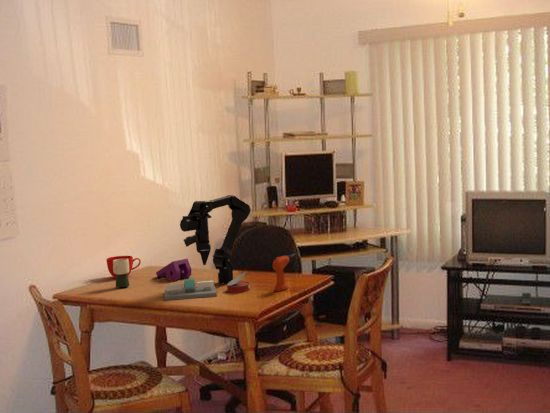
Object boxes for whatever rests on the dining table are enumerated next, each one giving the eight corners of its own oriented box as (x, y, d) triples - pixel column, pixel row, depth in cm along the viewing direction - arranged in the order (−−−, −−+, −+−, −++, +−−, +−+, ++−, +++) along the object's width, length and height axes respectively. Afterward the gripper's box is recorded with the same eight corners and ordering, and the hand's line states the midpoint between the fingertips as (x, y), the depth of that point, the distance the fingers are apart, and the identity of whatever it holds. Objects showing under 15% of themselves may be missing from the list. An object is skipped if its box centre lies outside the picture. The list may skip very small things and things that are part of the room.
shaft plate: (214, 288, 321) (214, 277, 321) (216, 296, 305) (216, 284, 305) (165, 292, 318) (164, 281, 318) (164, 300, 303) (163, 288, 302)
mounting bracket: (158, 290, 354) (178, 277, 343) (152, 274, 356) (172, 261, 345) (172, 287, 361) (193, 274, 350) (167, 271, 363) (187, 258, 352)
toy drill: (302, 279, 324) (299, 247, 321) (282, 293, 308) (278, 260, 305) (293, 279, 326) (289, 247, 323) (272, 292, 311) (268, 259, 308)
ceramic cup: (144, 276, 360) (142, 257, 360) (110, 281, 354) (108, 260, 353) (138, 273, 372) (137, 254, 371) (105, 277, 366) (104, 257, 365)
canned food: (243, 303, 311) (237, 285, 306) (225, 298, 317) (219, 281, 312) (257, 286, 319) (252, 269, 314) (239, 282, 324) (233, 265, 319)
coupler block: (195, 289, 314) (195, 278, 314) (196, 291, 310) (195, 279, 310) (184, 290, 313) (183, 279, 313) (184, 292, 309) (183, 280, 309)
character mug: (124, 284, 342) (122, 257, 341) (136, 285, 339) (134, 258, 338) (108, 289, 332) (106, 261, 331) (121, 290, 329) (119, 262, 328)
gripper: (183, 227, 331) (185, 261, 333) (184, 232, 313) (186, 268, 314) (208, 226, 333) (210, 259, 334) (209, 230, 314) (211, 266, 316)
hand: (204, 263), depth 325 cm, fingers open, 9 cm apart
